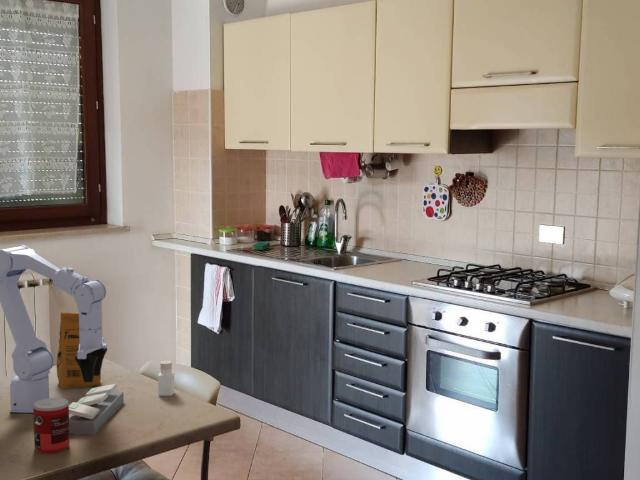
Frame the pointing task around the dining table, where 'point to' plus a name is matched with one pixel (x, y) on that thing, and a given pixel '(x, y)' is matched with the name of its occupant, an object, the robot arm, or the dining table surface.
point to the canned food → (51, 425)
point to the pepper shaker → (166, 379)
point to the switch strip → (97, 422)
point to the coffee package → (70, 354)
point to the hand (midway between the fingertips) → (92, 378)
